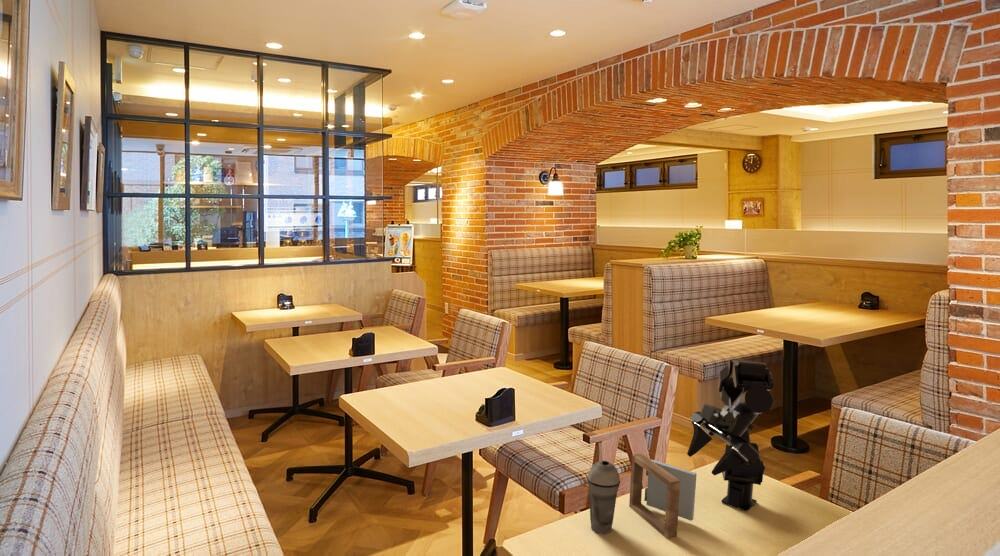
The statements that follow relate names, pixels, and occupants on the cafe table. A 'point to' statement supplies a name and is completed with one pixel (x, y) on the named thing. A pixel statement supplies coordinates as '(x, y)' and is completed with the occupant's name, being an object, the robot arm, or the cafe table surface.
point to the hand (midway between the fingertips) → (700, 464)
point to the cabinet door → (658, 490)
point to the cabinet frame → (672, 497)
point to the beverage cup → (602, 494)
